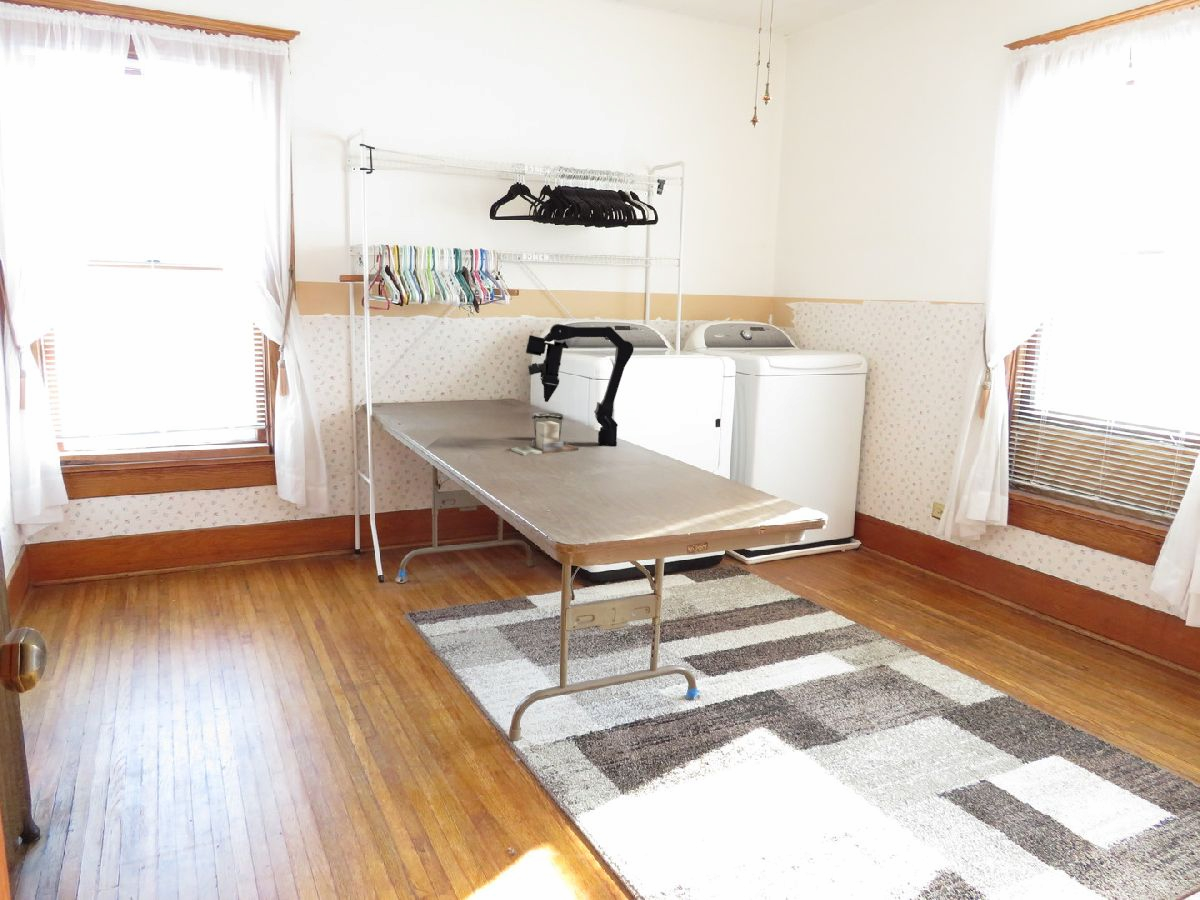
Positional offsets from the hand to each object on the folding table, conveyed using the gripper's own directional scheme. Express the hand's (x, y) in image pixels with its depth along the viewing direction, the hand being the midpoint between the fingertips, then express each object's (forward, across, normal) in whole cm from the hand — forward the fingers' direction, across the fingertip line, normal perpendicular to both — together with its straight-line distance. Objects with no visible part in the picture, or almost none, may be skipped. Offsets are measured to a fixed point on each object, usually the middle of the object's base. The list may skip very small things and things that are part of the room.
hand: (545, 400), depth 319 cm
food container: (+16, -10, +4) cm, 20 cm away
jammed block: (+15, +12, +3) cm, 20 cm away
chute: (+16, +12, +2) cm, 20 cm away
